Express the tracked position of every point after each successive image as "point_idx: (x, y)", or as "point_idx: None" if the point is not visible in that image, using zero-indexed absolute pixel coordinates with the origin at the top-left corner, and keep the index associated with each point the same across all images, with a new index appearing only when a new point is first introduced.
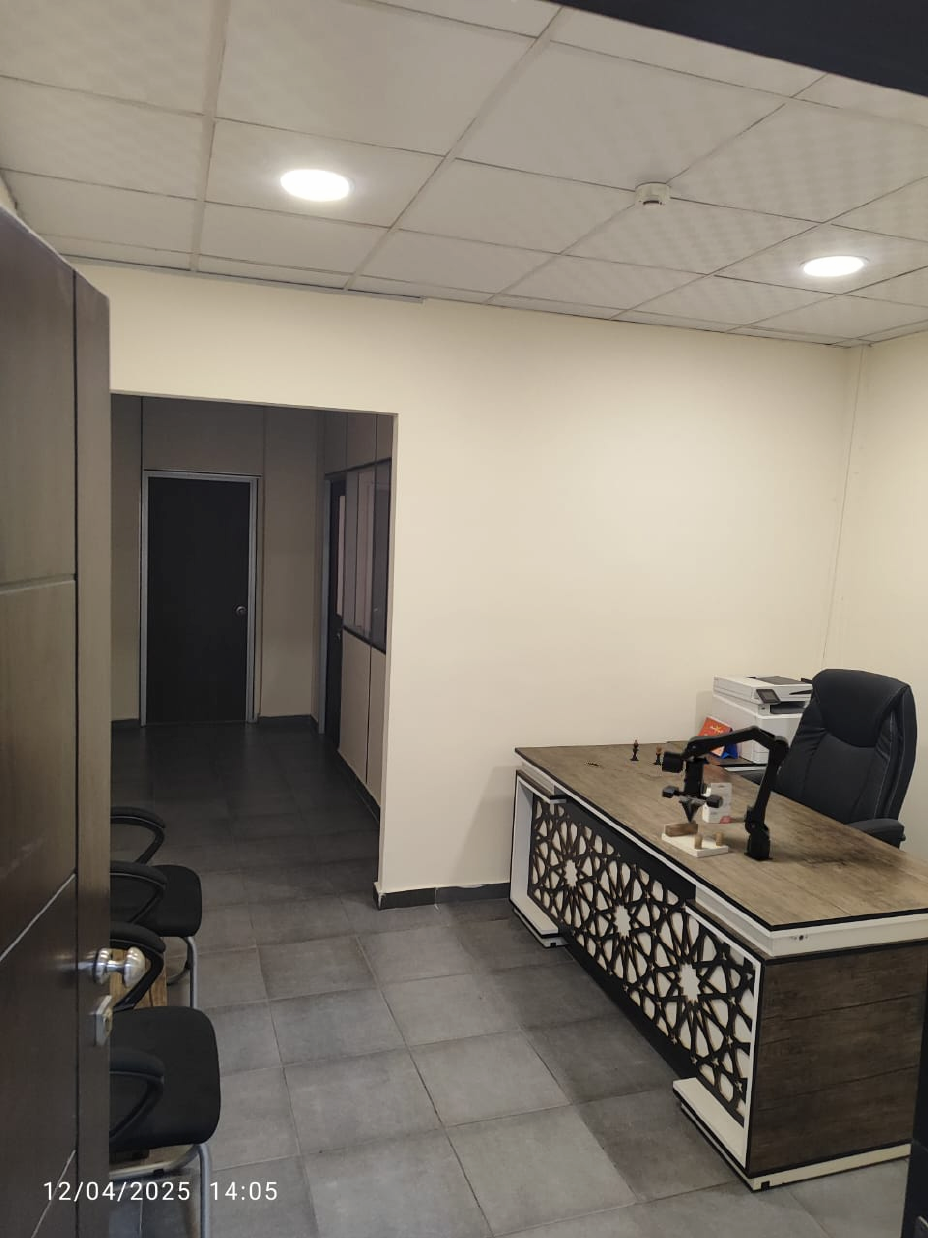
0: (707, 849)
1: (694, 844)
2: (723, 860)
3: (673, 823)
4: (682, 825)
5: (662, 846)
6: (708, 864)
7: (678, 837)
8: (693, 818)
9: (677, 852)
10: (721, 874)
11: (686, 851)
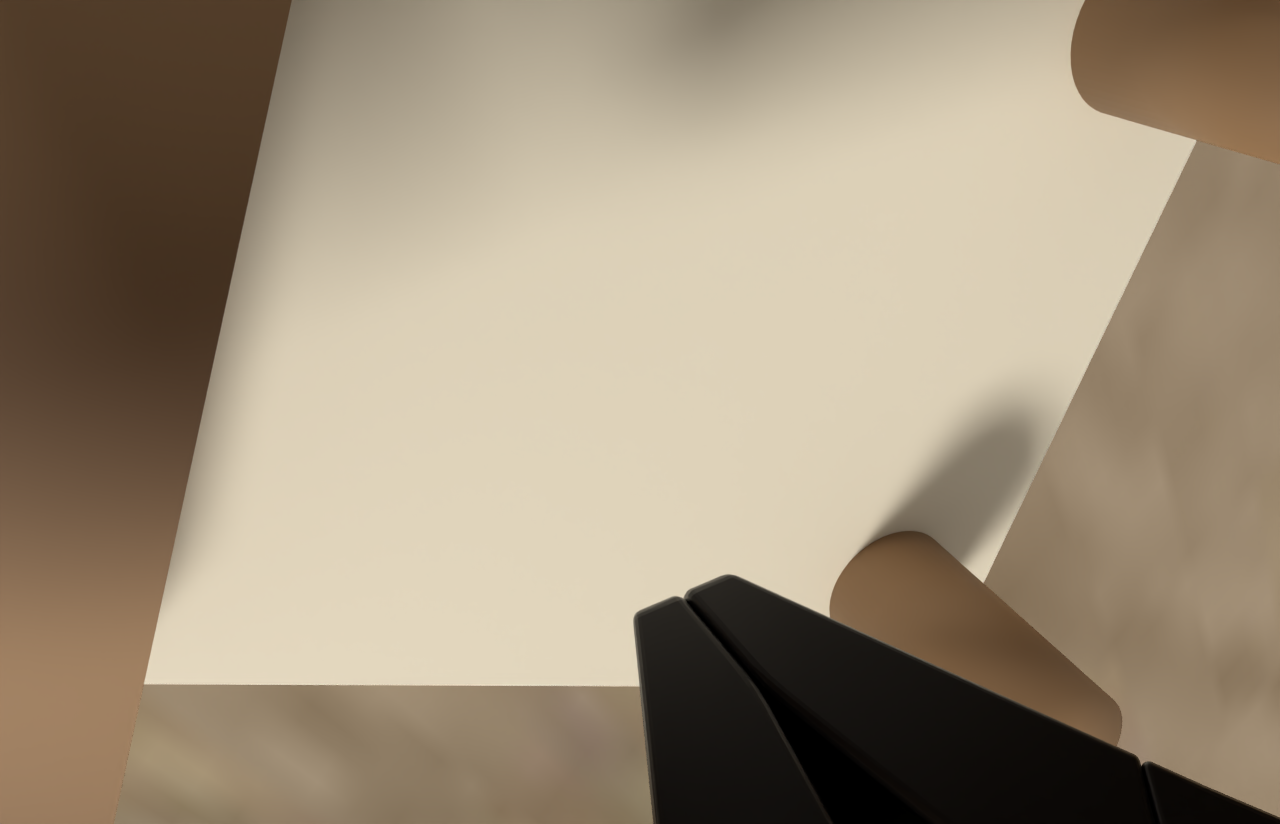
0: (1026, 468)
1: (757, 496)
2: (1187, 336)
3: None
4: (113, 356)
5: (192, 807)
6: (1065, 641)
7: (248, 491)
8: (854, 643)
9: (558, 742)
10: (1241, 708)
11: None
